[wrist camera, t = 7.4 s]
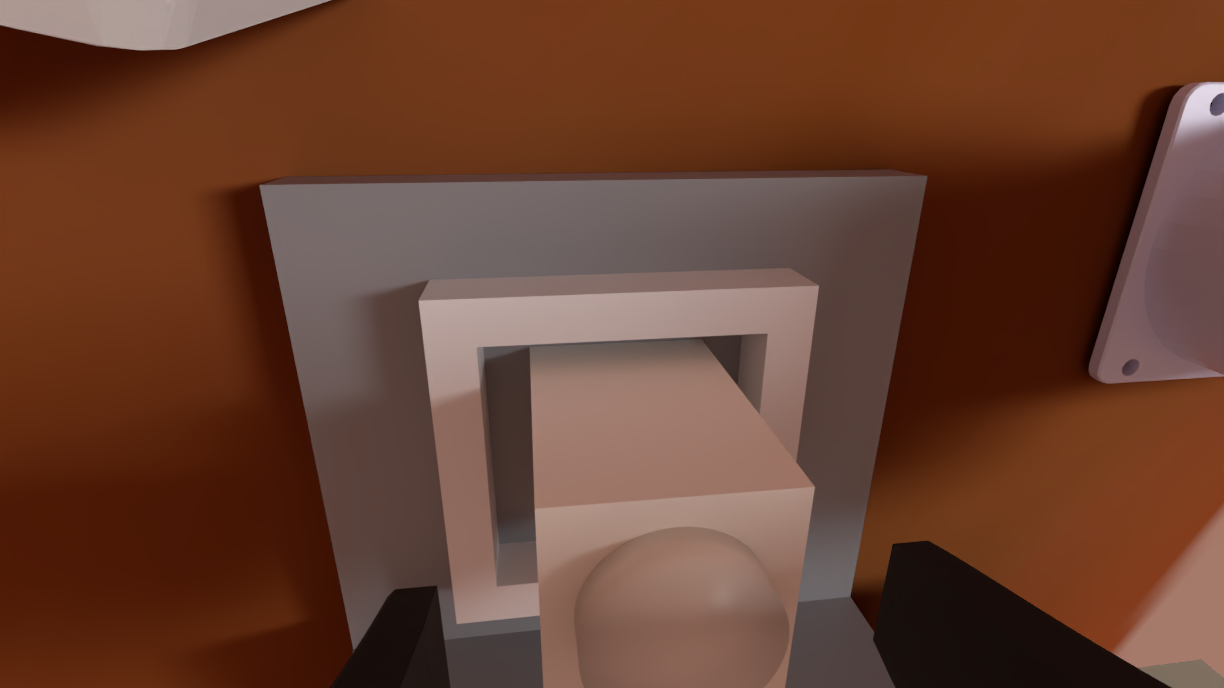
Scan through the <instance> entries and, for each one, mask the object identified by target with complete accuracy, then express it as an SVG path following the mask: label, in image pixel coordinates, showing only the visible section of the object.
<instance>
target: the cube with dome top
mask: <svg viewBox="0 0 1224 688" xmlns="http://www.w3.org/2000/svg"><path fill="white" fill-rule="evenodd" d="M530 377H531V409H532V441H533V473H534V505H535V527H536V548H537V568H538V589H539V609H540V630H541V651H542V671H543V688H785V685H786V678H787V671H788V665H789V658H790V651H791V645H792V638H793V631H794V624H795V618H796V611H797V604H798V597H799V591H800V584H801V577H802V571H803V564H804V557H805V550H806V544H807V537H808V530H809V524H810V517H811V510H812V503H813V497H814V490H815V486H814V485H813V484H812V482H811V481H810V480H809V478H808V477H807V476H806V474H805V473H804V472H803V471H802V469H801V468H800V467H799V465H798V464H797V463H796V461H795V460H794V459H793V458H792V456H791V455H790V454H789V452H788V451H787V450H786V448H785V447H784V446H783V445H782V443H781V442H780V441H779V439H778V438H777V437H776V435H775V434H774V433H773V432H772V430H771V429H770V428H769V426H768V425H767V424H766V422H765V421H764V420H763V418H762V417H761V416H760V415H759V413H758V412H757V411H756V409H755V408H754V407H753V405H752V404H751V403H750V402H749V400H748V399H747V398H746V396H745V395H744V394H743V392H742V391H741V390H740V389H739V387H738V386H737V385H736V383H735V382H734V381H733V379H732V378H731V377H730V376H729V374H728V373H727V372H726V370H725V369H724V368H723V366H722V365H721V364H720V362H719V361H718V360H717V359H716V357H715V356H714V355H713V353H712V352H711V351H710V349H709V348H708V347H707V346H706V344H705V343H704V342H703V340H702V339H697V340H675V341H652V342H630V343H607V344H585V345H562V346H540V347H530Z"/></svg>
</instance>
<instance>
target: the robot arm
mask: <svg viewBox="0 0 1224 688" xmlns="http://www.w3.org/2000/svg"><path fill="white" fill-rule="evenodd" d="M1212 100H1213V102H1212ZM1211 102H1212V106H1211V108H1210V104H1211ZM1124 364H1125V365H1124ZM1088 371H1089V374H1090V376H1091V377H1093V378H1094V379H1096V380H1098V381H1100V382H1102V383H1108V384H1110V383H1126V382H1142V381H1158V380H1174V379H1190V378H1206V377H1222V376H1224V82H1197V83H1190V84H1187V85H1185V86H1184V87H1182V88H1181V89H1179V91H1178V92H1177V93H1176V94H1175V95H1174V97H1173V98H1172V101H1171V103H1170V105H1169V108H1168V112H1167V115H1166V118H1165V121H1164V124H1163V128H1162V131H1161V134H1160V137H1159V140H1158V144H1157V147H1156V150H1155V153H1154V157H1153V160H1152V163H1151V166H1150V169H1149V173H1148V176H1147V179H1146V182H1145V186H1144V189H1143V192H1142V195H1141V198H1140V202H1139V205H1138V208H1137V211H1136V215H1135V218H1134V221H1133V224H1132V227H1131V231H1130V234H1129V237H1128V240H1127V244H1126V247H1125V250H1124V253H1123V256H1122V260H1121V263H1120V266H1119V269H1118V272H1117V276H1116V279H1115V282H1114V285H1113V289H1112V292H1111V295H1110V298H1109V301H1108V305H1107V308H1106V311H1105V314H1104V318H1103V321H1102V324H1101V327H1100V330H1099V334H1098V337H1097V340H1096V343H1095V347H1094V350H1093V353H1092V356H1091V359H1090V363H1089V369H1088ZM873 641H874V643H875V645H876V647H877V650H878V652H879V654H880V656H881V658H882V661H883V663H884V665H885V667H886V669H887V672H888V674H889V676H890V678H891V680H892V682H893V684H894V686H895V688H1172V687H1170V686H1168V685H1166V684H1165V683H1163V682H1161V681H1159V680H1158V679H1156V678H1154V677H1152V676H1151V675H1149V674H1147V673H1145V672H1144V671H1142V670H1140V669H1138V668H1136V667H1135V666H1133V665H1131V664H1129V663H1128V662H1126V661H1124V660H1123V659H1121V658H1119V657H1118V656H1116V655H1114V654H1112V653H1111V652H1109V651H1107V650H1106V649H1104V648H1102V647H1101V646H1099V645H1097V644H1096V643H1094V642H1092V641H1091V640H1089V639H1087V638H1086V637H1084V636H1082V635H1081V634H1079V633H1077V632H1076V631H1074V630H1073V629H1071V628H1069V627H1068V626H1066V625H1064V624H1063V623H1061V622H1060V621H1058V620H1056V619H1055V618H1053V617H1051V616H1050V615H1048V614H1047V613H1045V612H1043V611H1042V610H1040V609H1039V608H1037V607H1035V606H1034V605H1032V604H1031V603H1029V602H1027V601H1026V600H1024V599H1023V598H1021V597H1020V596H1018V595H1016V594H1015V593H1013V592H1012V591H1010V590H1008V589H1007V588H1005V587H1004V586H1002V585H1000V584H999V583H997V582H996V581H994V580H993V579H991V578H989V577H988V576H986V575H985V574H983V573H981V572H980V571H978V570H977V569H975V568H973V567H972V566H970V565H968V564H967V563H965V562H964V561H962V560H960V559H959V558H957V557H955V556H954V555H952V554H950V553H949V552H947V551H945V550H944V549H942V548H940V547H938V546H937V545H935V544H933V543H931V542H929V541H920V542H909V543H898V544H893V546H892V551H891V556H890V560H889V565H888V570H887V575H886V580H885V584H884V589H883V594H882V599H881V603H880V608H879V613H878V618H877V623H876V627H875V632H874V637H873ZM330 688H450V680H449V672H448V664H447V657H446V649H445V641H444V634H443V626H442V618H441V610H440V603H439V595H438V587H437V585H436V586H425V587H414V588H403V589H395V590H394V591H393V592H392V593H391V594H390V595H389V596H388V597H387V598H386V600H385V602H384V604H383V605H382V607H381V609H380V610H379V612H378V614H377V615H376V617H375V619H374V620H373V622H372V624H371V625H370V627H369V628H368V630H367V632H366V633H365V635H364V636H363V638H362V640H361V641H360V643H359V644H358V646H357V648H356V649H355V651H354V652H353V654H352V655H351V657H350V658H349V660H348V661H347V663H346V664H345V666H344V668H343V669H342V671H341V672H340V674H339V675H338V677H337V678H336V680H335V681H334V682H333V684H332V685H331V687H330Z"/></svg>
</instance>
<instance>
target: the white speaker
mask: <svg viewBox="0 0 1224 688" xmlns="http://www.w3.org/2000/svg"><path fill="white" fill-rule="evenodd" d="M327 1H330V0H0V26H5V27H10V28H14V29H19V30H24V31H29V32H33V33H38V34H43V35H47V36H52V37H57V38H62V39H66V40H71V41H76V42H81V43H85V44H90V45H95V46H101V47H111V48H121V49H131V50H176V49H180V48H184V47H188V46H191V45H194V44H197V43H200V42H203V41H207V40H210V39H213V38H216V37H219V36H222V35H225V34H228V33H231V32H234V31H237V30H241V29H244V28H247V27H250V26H253V25H256V24H259V23H262V22H265V21H268V20H272V19H275V18H278V17H281V16H284V15H287V14H290V13H293V12H296V11H299V10H303V9H306V8H309V7H312V6H315V5H318V4H321V3H324V2H327Z"/></svg>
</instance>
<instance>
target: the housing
mask: <svg viewBox="0 0 1224 688" xmlns="http://www.w3.org/2000/svg"><path fill="white" fill-rule="evenodd" d="M927 177H928V176H925V175H920V174H914V173H908V172H902V171H897V170H891V169H881V170H798V171H715V172H632V173H549V174H466V175H383V176H300V177H284V178H281V179H277V180H274V181H271V182H268V183H264V184H261V185H259V186H260V191H261V196H262V201H263V206H264V211H265V216H266V221H267V226H268V230H269V235H270V240H271V245H272V250H273V255H274V260H275V265H276V270H277V275H278V280H279V285H280V290H281V295H282V300H283V305H284V309H285V314H286V319H287V324H288V329H289V334H290V339H291V344H292V349H293V354H294V359H295V364H296V369H297V374H298V379H299V384H300V388H301V393H302V398H303V403H304V408H305V413H306V418H307V423H308V428H309V433H310V438H311V443H312V448H313V453H314V458H315V463H316V467H317V472H318V477H319V482H320V487H321V492H322V497H323V502H324V507H325V512H326V517H327V522H328V527H329V532H330V537H331V542H332V546H333V551H334V556H335V561H336V566H337V571H338V576H339V581H340V586H341V591H342V596H343V601H344V606H345V611H346V616H347V621H348V625H349V630H350V635H351V640H352V645H353V652H354V651H355V649H356V648H357V646H358V644H359V643H360V641H361V640H362V638H363V636H364V635H365V633H366V632H367V630H368V628H369V627H370V625H371V624H372V622H373V620H374V619H375V617H376V615H377V614H378V612H379V610H380V609H381V607H382V605H383V604H384V602H385V600H386V598H387V597H388V596H389V595H390V594H391V593H392V592H393V591H394V590H395V589H403V588H414V587H425V586H436V585H437V587H438V595H439V603H440V610H441V618H442V626H443V634H444V641H445V649H446V657H447V664H448V672H449V680H450V688H543V671H542V651H541V630H540V609H539V589H538V568H537V548H536V527H535V505H534V473H533V441H532V409H531V377H530V347H540V346H562V345H585V344H607V343H630V342H652V341H675V340H697V339H702V340H703V342H704V343H705V344H706V346H707V347H708V348H709V349H710V351H711V352H712V353H713V355H714V356H715V357H716V359H717V360H718V361H719V362H720V364H721V365H722V366H723V368H724V369H725V370H726V372H727V373H728V374H729V376H730V377H731V378H732V379H733V381H734V382H735V383H736V385H737V386H738V387H739V389H740V390H741V391H742V392H743V394H744V395H745V396H746V398H747V399H748V400H749V402H750V403H751V404H752V405H753V407H754V408H755V409H756V411H757V412H758V413H759V415H760V416H761V417H762V418H763V420H764V421H765V422H766V424H767V425H768V426H769V428H770V429H771V430H772V432H773V433H774V434H775V435H776V437H777V438H778V439H779V441H780V442H781V443H782V445H783V446H784V447H785V448H786V450H787V451H788V452H789V454H790V455H791V456H792V458H793V459H794V460H795V461H796V463H797V464H798V465H799V467H800V468H801V469H802V471H803V472H804V473H805V474H806V476H807V477H808V478H809V480H810V481H811V482H812V484H813V485H814V486H815V490H814V497H813V503H812V510H811V517H810V524H809V530H808V537H807V544H806V550H805V557H804V564H803V571H802V577H801V584H800V591H799V597H798V604H797V611H796V618H795V624H794V631H793V638H792V645H791V651H790V658H789V665H788V671H787V678H786V685H785V688H895V686H894V684H893V682H892V680H891V678H890V676H889V674H888V672H887V669H886V667H885V665H884V663H883V661H882V658H881V656H880V654H879V652H878V650H877V647H876V645H875V643H874V641H873V637H874V631H873V630H872V628H871V627H870V625H869V624H868V622H867V621H866V619H865V618H864V616H863V615H862V613H861V612H860V610H859V609H858V607H857V606H856V604H855V603H854V601H853V600H852V598H851V597H850V596H851V590H852V585H853V579H854V574H855V568H856V563H857V557H858V552H859V547H860V541H861V536H862V530H863V525H864V519H865V514H866V509H867V503H868V498H869V492H870V487H871V481H872V476H873V470H874V465H875V460H876V454H877V449H878V443H879V438H880V432H881V427H882V421H883V416H884V411H885V405H886V400H887V394H888V389H889V383H890V378H891V373H892V367H893V362H894V356H895V351H896V345H897V340H898V334H899V329H900V324H901V318H902V313H903V307H904V302H905V296H906V291H907V285H908V280H909V275H910V269H911V264H912V258H913V253H914V247H915V242H916V237H917V231H918V226H919V220H920V215H921V209H922V204H923V198H924V193H925V188H926V182H927ZM353 652H352V654H353Z"/></svg>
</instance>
